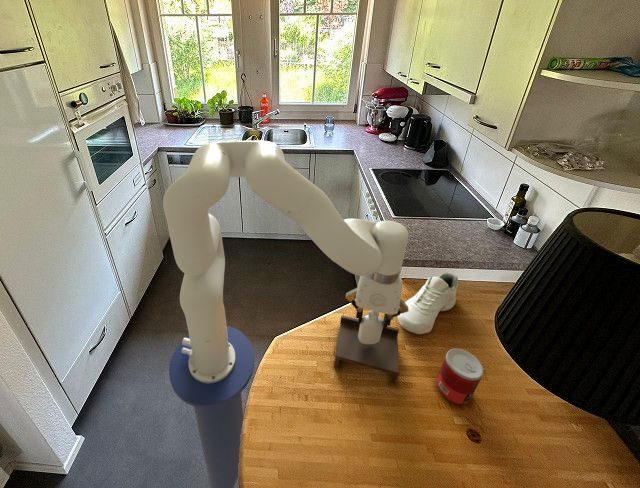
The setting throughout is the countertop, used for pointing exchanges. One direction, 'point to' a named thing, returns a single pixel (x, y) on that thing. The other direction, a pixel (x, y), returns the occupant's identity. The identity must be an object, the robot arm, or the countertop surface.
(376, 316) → the eye dropper bottle
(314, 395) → the countertop surface
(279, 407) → the countertop surface
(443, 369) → the canned food
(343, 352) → the shelf
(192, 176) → the robot arm
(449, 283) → the running shoe
